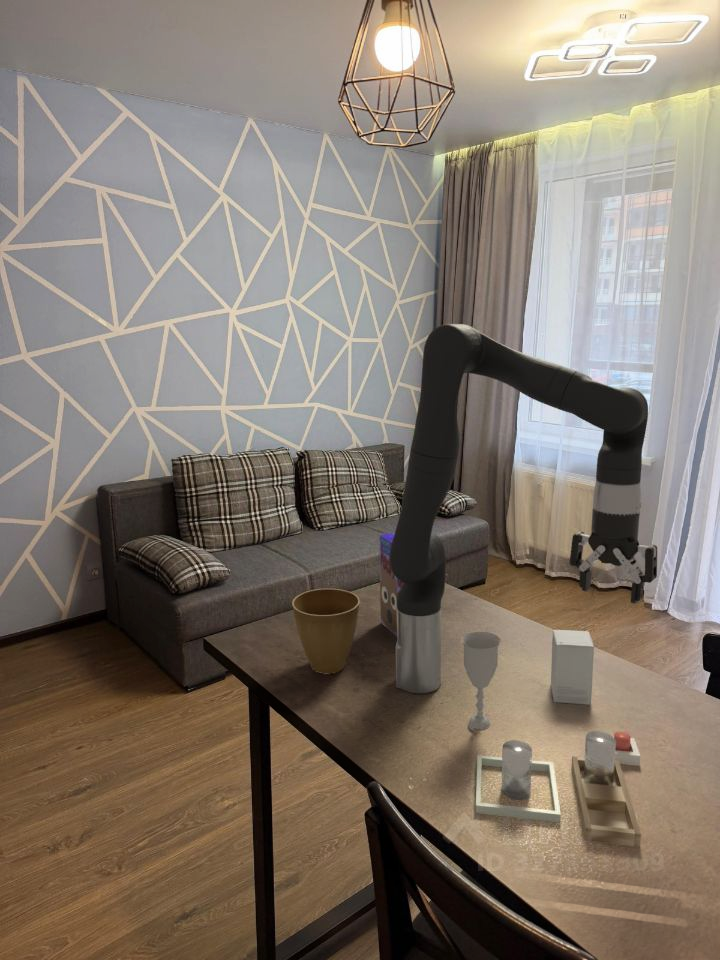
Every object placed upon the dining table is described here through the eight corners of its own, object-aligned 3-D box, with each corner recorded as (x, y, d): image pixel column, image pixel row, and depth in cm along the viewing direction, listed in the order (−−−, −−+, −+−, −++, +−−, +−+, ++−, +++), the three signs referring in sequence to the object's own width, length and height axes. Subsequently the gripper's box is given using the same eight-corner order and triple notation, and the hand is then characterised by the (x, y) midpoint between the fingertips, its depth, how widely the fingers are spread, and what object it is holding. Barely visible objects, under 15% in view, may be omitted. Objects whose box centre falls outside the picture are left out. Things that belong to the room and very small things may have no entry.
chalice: (475, 743, 118) (476, 652, 114) (453, 725, 124) (453, 637, 120) (506, 732, 122) (508, 642, 118) (484, 714, 127) (485, 628, 124)
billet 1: (501, 801, 103) (502, 756, 101) (501, 782, 107) (502, 739, 105) (531, 804, 102) (532, 759, 100) (529, 785, 106) (531, 741, 104)
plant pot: (283, 677, 144) (279, 609, 140) (313, 647, 157) (310, 585, 154) (345, 689, 138) (343, 618, 135) (371, 657, 152) (369, 592, 148)
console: (607, 768, 111) (608, 753, 110) (603, 750, 115) (603, 735, 115) (639, 771, 110) (640, 755, 109) (633, 753, 114) (634, 738, 114)
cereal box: (380, 623, 170) (378, 534, 165) (397, 619, 172) (395, 532, 167) (414, 650, 154) (413, 554, 149) (431, 646, 156) (431, 550, 151)
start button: (614, 752, 111) (615, 739, 110) (612, 743, 113) (612, 730, 113) (631, 753, 110) (631, 741, 110) (628, 744, 113) (628, 732, 112)
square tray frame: (475, 819, 100) (475, 805, 99) (477, 768, 112) (477, 755, 111) (560, 829, 97) (560, 814, 97) (552, 775, 109) (553, 762, 109)
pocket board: (584, 847, 94) (585, 828, 93) (571, 773, 110) (572, 756, 109) (639, 853, 92) (641, 834, 92) (617, 777, 108) (618, 760, 108)
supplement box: (591, 705, 129) (594, 646, 127) (553, 702, 131) (555, 644, 128) (586, 686, 137) (589, 630, 134) (550, 683, 138) (552, 628, 135)
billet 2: (585, 791, 103) (587, 746, 102) (581, 773, 108) (583, 729, 106) (615, 794, 103) (618, 749, 101) (610, 776, 107) (613, 732, 105)
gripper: (566, 504, 113) (562, 592, 117) (652, 518, 104) (644, 613, 107) (584, 496, 119) (579, 580, 122) (667, 508, 109) (659, 599, 113)
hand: (609, 595), depth 115 cm, fingers open, 8 cm apart
